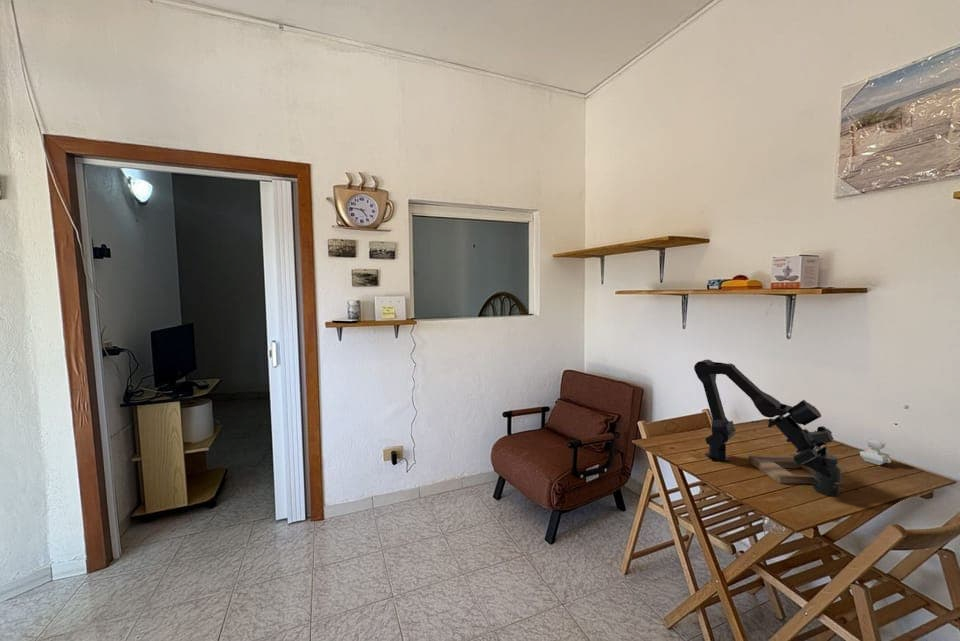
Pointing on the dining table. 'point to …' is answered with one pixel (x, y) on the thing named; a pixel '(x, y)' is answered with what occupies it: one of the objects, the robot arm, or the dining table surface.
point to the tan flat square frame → (781, 468)
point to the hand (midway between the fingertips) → (832, 473)
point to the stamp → (875, 453)
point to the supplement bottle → (824, 483)
